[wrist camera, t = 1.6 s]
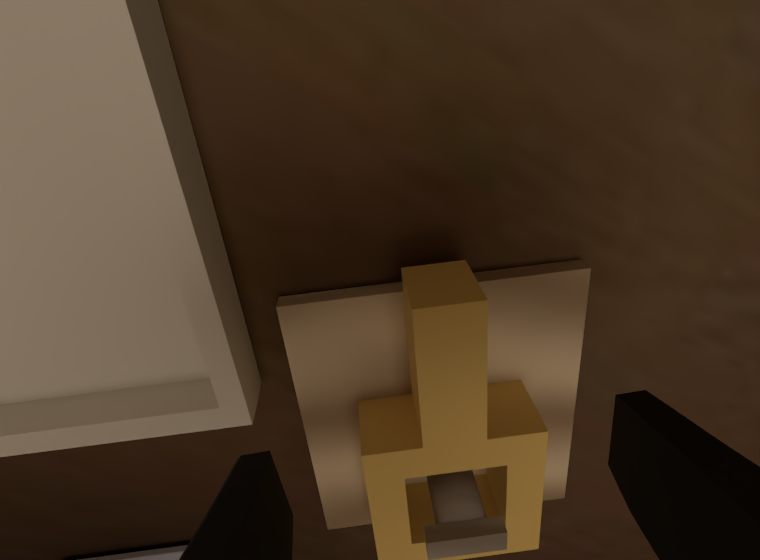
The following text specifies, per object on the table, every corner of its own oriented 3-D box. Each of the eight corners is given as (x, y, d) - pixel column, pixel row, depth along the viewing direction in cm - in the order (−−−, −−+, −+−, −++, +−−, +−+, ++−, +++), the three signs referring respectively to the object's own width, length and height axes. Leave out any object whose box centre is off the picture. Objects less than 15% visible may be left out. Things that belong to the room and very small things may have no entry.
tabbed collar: (516, 490, 24) (538, 548, 21) (375, 509, 24) (380, 570, 21) (527, 252, 18) (560, 291, 15) (338, 275, 18) (338, 318, 15)
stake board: (557, 484, 25) (611, 594, 20) (328, 515, 25) (325, 633, 20) (581, 259, 19) (665, 338, 14) (278, 296, 19) (256, 390, 14)
